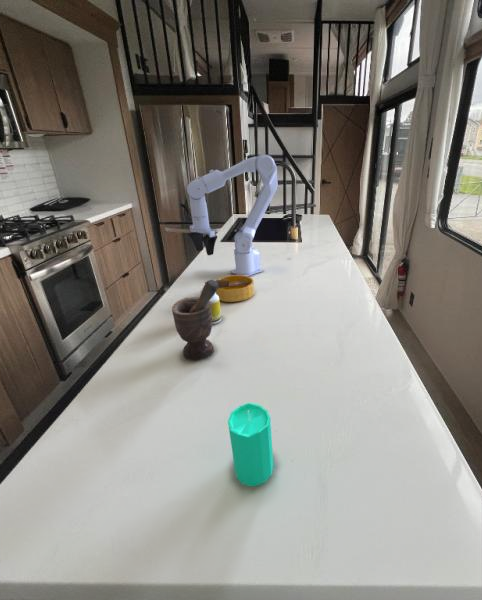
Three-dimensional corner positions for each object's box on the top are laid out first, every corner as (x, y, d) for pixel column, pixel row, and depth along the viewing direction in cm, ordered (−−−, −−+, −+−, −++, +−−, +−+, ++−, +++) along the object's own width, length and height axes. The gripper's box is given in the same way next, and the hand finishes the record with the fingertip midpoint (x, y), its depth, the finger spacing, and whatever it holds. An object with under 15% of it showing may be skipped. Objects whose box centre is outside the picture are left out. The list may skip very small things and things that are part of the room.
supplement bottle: (224, 316, 96) (220, 285, 92) (218, 325, 91) (214, 293, 87) (206, 315, 96) (201, 285, 92) (200, 324, 91) (195, 293, 87)
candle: (236, 453, 53) (228, 397, 48) (272, 450, 53) (269, 394, 48) (233, 488, 48) (224, 429, 42) (274, 484, 48) (270, 425, 43)
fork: (245, 282, 112) (245, 276, 112) (249, 283, 111) (249, 277, 110) (204, 288, 101) (204, 281, 101) (207, 290, 100) (208, 283, 99)
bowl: (239, 283, 118) (238, 272, 116) (262, 294, 109) (261, 281, 107) (207, 294, 110) (205, 282, 108) (229, 307, 101) (228, 294, 99)
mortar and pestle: (232, 343, 83) (223, 269, 74) (225, 363, 75) (214, 284, 66) (187, 343, 83) (174, 270, 74) (176, 363, 75) (159, 284, 67)
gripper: (180, 215, 118) (186, 251, 124) (200, 220, 109) (205, 259, 114) (197, 212, 122) (202, 247, 128) (218, 217, 113) (222, 254, 119)
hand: (205, 252), depth 122 cm, fingers open, 7 cm apart
